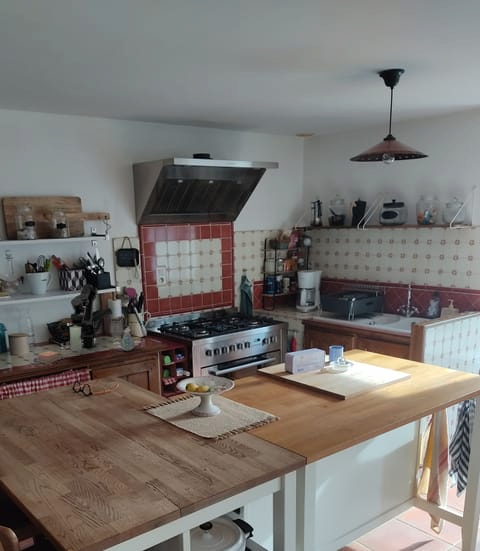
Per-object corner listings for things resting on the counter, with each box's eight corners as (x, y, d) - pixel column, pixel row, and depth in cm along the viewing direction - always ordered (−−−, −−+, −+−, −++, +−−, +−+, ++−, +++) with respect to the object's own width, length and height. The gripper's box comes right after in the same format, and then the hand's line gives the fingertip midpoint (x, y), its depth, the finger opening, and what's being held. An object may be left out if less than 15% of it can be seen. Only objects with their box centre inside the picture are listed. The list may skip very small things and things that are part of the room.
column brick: (74, 347, 285) (73, 324, 283) (83, 348, 283) (82, 324, 281) (68, 350, 279) (67, 326, 277) (78, 351, 277) (77, 327, 275)
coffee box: (120, 340, 327) (119, 316, 324) (128, 340, 325) (127, 316, 322) (112, 343, 318) (111, 319, 316) (121, 344, 316) (120, 319, 314)
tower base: (49, 356, 292) (49, 349, 291) (64, 358, 286) (64, 352, 286) (33, 361, 281) (32, 354, 281) (48, 364, 276) (47, 357, 275)
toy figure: (113, 354, 295) (112, 329, 293) (113, 349, 305) (112, 325, 303) (142, 352, 299) (141, 328, 297) (140, 347, 309) (140, 324, 307)
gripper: (59, 308, 281) (54, 331, 271) (92, 307, 282) (89, 331, 273) (63, 318, 290) (59, 341, 280) (96, 317, 291) (93, 341, 282)
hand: (75, 338), depth 279 cm, fingers closed on column brick, 6 cm apart
